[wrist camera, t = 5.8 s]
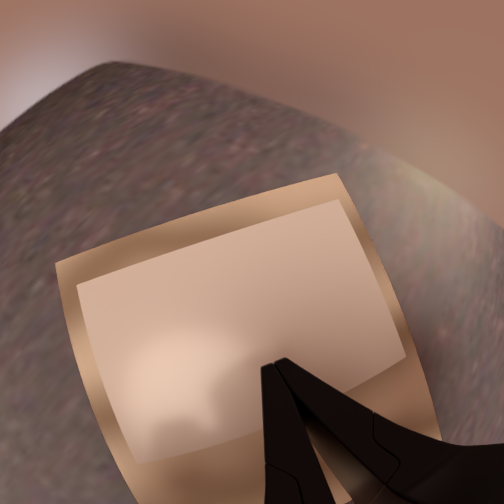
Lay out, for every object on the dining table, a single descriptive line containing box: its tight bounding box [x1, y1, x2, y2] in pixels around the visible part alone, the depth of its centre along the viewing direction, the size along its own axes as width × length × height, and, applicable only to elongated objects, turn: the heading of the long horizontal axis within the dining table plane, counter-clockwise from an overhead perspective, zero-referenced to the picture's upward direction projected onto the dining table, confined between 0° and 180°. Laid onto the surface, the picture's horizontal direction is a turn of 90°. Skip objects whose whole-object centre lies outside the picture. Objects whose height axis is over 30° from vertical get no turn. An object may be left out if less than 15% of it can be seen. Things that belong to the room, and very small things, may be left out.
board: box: [55, 173, 442, 504], centre depth 14 cm, size 19×18×1 cm
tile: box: [76, 199, 406, 464], centre depth 14 cm, size 2×14×9 cm
